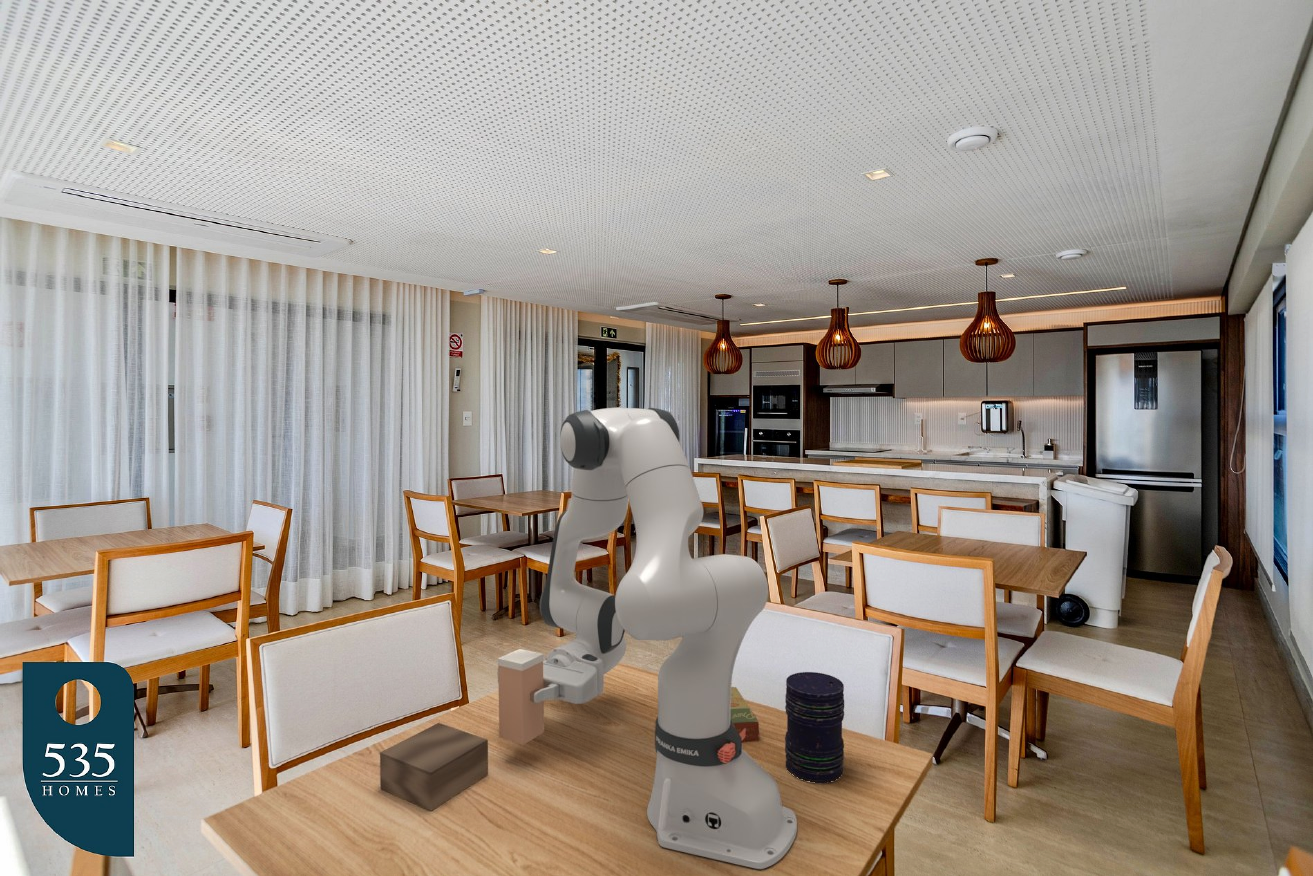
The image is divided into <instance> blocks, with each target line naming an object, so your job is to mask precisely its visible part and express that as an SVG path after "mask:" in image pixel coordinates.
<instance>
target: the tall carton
mask: <svg viewBox="0 0 1313 876" xmlns="http://www.w3.org/2000/svg"><path fill="white" fill-rule="evenodd" d="M544 660H545V659H544V653H541V652H535V651H531V650H527V649H522V648H518V649H516V650H514V651H512V652H509V653H507V654H505V655H503V656H500V657H498V658H497V672H498V677H497V684H498V733H499V734H498V737H499V738H500V739H502V740H506V741H509V742H512V743H515V744H517V745H522V746H524V745H525V744H527V743H528V742H531V741H532V740H533V739H535V738H537V737H538V736H540V735H541V734H543V733H544V732H545V710H544V709H545V708H544V707H545V700H543V701H541V702H539V703H535V702H531V701H530V692H531V691H534V690H535V689H543V661H544Z"/></svg>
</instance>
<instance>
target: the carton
mask: <svg viewBox="0 0 1313 876" xmlns="http://www.w3.org/2000/svg"><path fill="white" fill-rule="evenodd" d="M730 719H731V720H732V722H733V724H734V727H735V729H736V730H737V732H738V733H739V734H740V733H741V732H742V730H743V729H746V732H745V734H746V736H745V738H744V739H743V740H742V741H745V742H756V741H757V742H758V741H759V740H760V738H759V737H760V723H759V719H758V718H757V717H756V715H755V714H754V712H753V711H752V709H751V708H750V706H749V705H748V703H747V702H746V700H745V699H744V697H743V695H742V694H741V692H740V691H739V689H738V688H737V687H736V686H731V718H730Z"/></svg>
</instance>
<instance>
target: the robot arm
mask: <svg viewBox="0 0 1313 876" xmlns="http://www.w3.org/2000/svg"><path fill="white" fill-rule="evenodd" d="M559 434H560V436H559V442H560V450H561V453H562V456H563V458H564V461H565V462H566V463H567V464H568V465H570V467H571V468H573V471H572V479H571V498H570V503H569V506H568V508H567V509H565V510H564V511H562V513H560V515H559V517H558V519H557V522H556V523H555V524H556V525H555V529H554V533H553V538H552V545H551V550H550V556H549V557H550V558H549V563H548V569H547V574H546V579H545V582H544V583H545V584H544V587H543V590H542V593H541V595H540V599H539V612H540V615H541V618H542V620H543V622H544V623H545V624H546V625H547V626H550V627H553V628H557V629H560V630H566V631H568V632H571V633H573V634H575V638H574V639H573V640H571V641H568V642H566V643H564V644H562V645H559V646H558V647H555V648H553V649H552V650H550V651H549V652H548V653H547V655H546V656H545V659H544V661H543V689H535V690H534V691H531V692H530V701H531V702H535V703H539V702H541V701H543V700H544V701H548V700H549V701H550V700H554V699H555V700H557V701H558V700H559V701H563V702H566V703H569V704H570V703H571V704H574V705H581V704H583V705H584V704H585V703H587V702H589V701H591V700H593V699H594V698H595V697H597V696H600V695H602V694H603V693H604V686H605V685H604V683H605V680H604V679H605V678H604V676H605V675H606V674H607V673H608V672H610V671H611V670H612V669H615V667H616V666H618V664H619V663H620V662H621V661H622V660H623V658H624V656H625V654H626V650H627V641H626V637H625V633H626V634H628V636H630V638H632V639H634V640H637V641H648V642H649V641H650V642H651V641H652V642H654V641H656V642H658V641H661V642H662V641H663V642H665V641H671V640H674V639H679V638H681V640H680V641H679V643H678V645H677V646H676V648H675V649H674V651H672V653H671V654H670V655H669V656H668V657H666V659H665V660H664V661H663V662H662V665H661V666H660V669H659V672H658V674H657V675H658V676H657V717H656V719H655V722H654V723H655V724H654V749H655V752H656V762H655V772H654V779H653V784H652V791H651V794H650V798H649V801H648V805H647V808H646V815H647V819H648V821H649V823H650V825H651V826H652V827H653V828H654V830H655V831H656V839H657V843H658V845H659V846H661V847H662V848H665V849H670V850H674V851H678V852H683V853H686V854H690V855H694V856H699V857H703V858H704V857H705V858H708V859H711V860H717V861H721V862H726V863H729V864H735V865H739V866H743V867H748V868H752V869H756V870H764V869H766V868H768V867H771V866H772V865H775V864H776V863H778V862H779V861H781V859H782V858H783V857H784V856H785V855H787V853H788V851H789V850H790V848H791V847H792V845H793V844H794V841H795V839H796V836H797V831H798V822H797V821H798V820H797V816H796V814H795V812H794V811H793V810H792V809H791V808H788V807H786V806H784V805H782V800H781V794H780V790H779V786H778V783H777V782H776V780H775V779H774V777H773V776H772V775H770V774H769V772H767V771H766V770H765V769H764V767H762V766H761V765H760V764H759V763H757V761H756V760H755V759H754V758H753V757H751V756H750V754H748V752H747V751H745V750H744V749H743V748H742V747H743V742H742V740H743V739H744V738H745V736H746V734H745V732H746V729H743V730H742V732H741V733H740V734H739V733H738V732H737V730H736V729H735V727H734V724H733V722H732V720H731V719H730V718H731V687H733V686H732V682H733V674H734V667H735V664H736V660H737V656H738V654H739V651H740V647H741V645H742V643H743V640H744V638H745V636H746V634H747V631H748V630H749V628H750V626H751V625H752V623H753V622H754V621H755V619H756V618H757V617H758V616H759V615H760V613H762V611H763V610H764V608H765V607H766V604H767V601H768V598H769V584H768V579H767V577H766V574H765V572H764V570H763V569H762V567H761V566H760V564H759V563H758V562H757V561H755V560H754V559H753V558H751V557H749V556H745V555H738V554H727V553H726V554H725V553H723V554H722V553H721V554H716V555H709V556H708V555H707V556H703V557H702V556H701V557H695V558H692V556H691V553H690V550H689V549H690V547H689V537H690V536H691V535H692V534H693V533H694V532H695V531H696V530H697V529H698V528H699V527H700V524H701V523H702V521H703V517H704V506H703V503H702V500H701V498H700V493H699V491H698V488H697V485H696V482H695V479H694V477H693V476H694V475H693V473H692V470H691V468H690V465H689V463H688V459H687V457H686V455H685V454H686V453H685V452H684V450H683V447H682V445H681V444H680V439H681V438H680V430H679V426H678V423H677V421H676V419H675V417H674V415H672V413H670V411H667V410H665V409H661V408H655V407H648V408H637V407H636V408H635V407H634V408H633V407H619V406H618V407H607V408H600V409H595V410H588V409H583V410H579V411H575V412H573V413H570V414H568V415H567V416H566V417H565V420H564V421H563V422H562V424H561V428H560V433H559ZM628 507H630V509H631V510H630V511H631V514H632V518H633V523H634V528H635V534H636V535H635V536H636V545H635V546H636V547H635V553H634V557H633V561H632V563H631V566H630V567H629V569H628V571H627V572H626V573H625V575H624V576H623V577H622V579H621V580H620V582H619V585H618V586H617V589H616V592H615V594H613V593H610V592H607V591H604V590H601V589H597V588H593V587H591V586H588V585H584V584H583V583H582V584H581V583H580V582H578V581H577V580H576V577H575V576H574V574H575V571H576V570H575V568H576V562H577V558H578V552H579V546H580V544H581V542H582V541H585V540H590V539H591V540H592V539H597V538H601V537H603V536H606V535H609V534H611V533H612V532H614V531H616V530H618V528H619V527H621V525H622V524H623V523H624V521H625V519H626V516H627V515H628V514H627V513H628ZM496 674H497V677H496V678H498V671H497V673H496Z"/></svg>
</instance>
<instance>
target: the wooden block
mask: <svg viewBox="0 0 1313 876" xmlns="http://www.w3.org/2000/svg"><path fill="white" fill-rule="evenodd" d="M379 765H380V766H379V767H380V768H379V769H380V770H379V773H380V775H379V776H380V782H379V783H380V788H381V789H380V790H383V791H384V792H388V793H389V794H391V795H394V796H395V797H398V798H401V799H403V800H405V801H407V802H409V803H410V804H411V803H412V804H413V805H417V806H419V807H420V808H423V809H425V810H427V811H430V812H432V811H434V810H435V809H437V808H439V807H440V806H442V805H443V804H445V803H446V802H448V801H449V800H451V799H453V798H454V797H456V796H458V794H460V793H463V791H465V790H467V789H468V788H469V787H471V786H473V785H474V784H475V783H477V782H479V781H480V780H482V779H484V778H485V777H487V776H488V775H489V739H487V738H485V737H481V736H479V735H477V734H476V735H475V734H472V733H469V732H468V731H463V730H461V729H458V728H455V727H452V726H449V725H446V724H443V723H441V722H437V723H436V724H434V725H432V726H430V727H427V728H425V729H424V730H421V731H419V732H417V733H416V734H413V735H412V736H410V737H407V738H405V739H404V740H402V741H400V742H398V743H396V744H393V745H392V746H390V747H388V748H386V749H384V750H382V751H380V753H379Z"/></svg>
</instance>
